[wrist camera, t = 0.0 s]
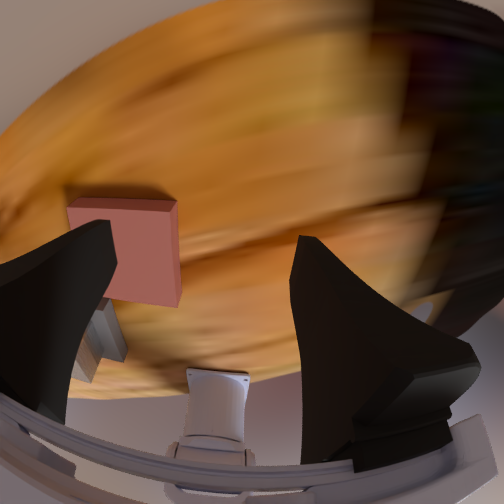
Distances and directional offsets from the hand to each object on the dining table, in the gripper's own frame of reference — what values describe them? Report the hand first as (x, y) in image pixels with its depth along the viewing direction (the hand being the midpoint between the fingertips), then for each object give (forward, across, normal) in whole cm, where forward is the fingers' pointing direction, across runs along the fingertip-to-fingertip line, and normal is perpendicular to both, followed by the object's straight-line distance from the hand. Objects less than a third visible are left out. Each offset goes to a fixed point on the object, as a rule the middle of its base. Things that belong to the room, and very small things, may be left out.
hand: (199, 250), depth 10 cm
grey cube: (+8, +16, +18) cm, 25 cm away
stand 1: (+10, +8, +7) cm, 15 cm away
